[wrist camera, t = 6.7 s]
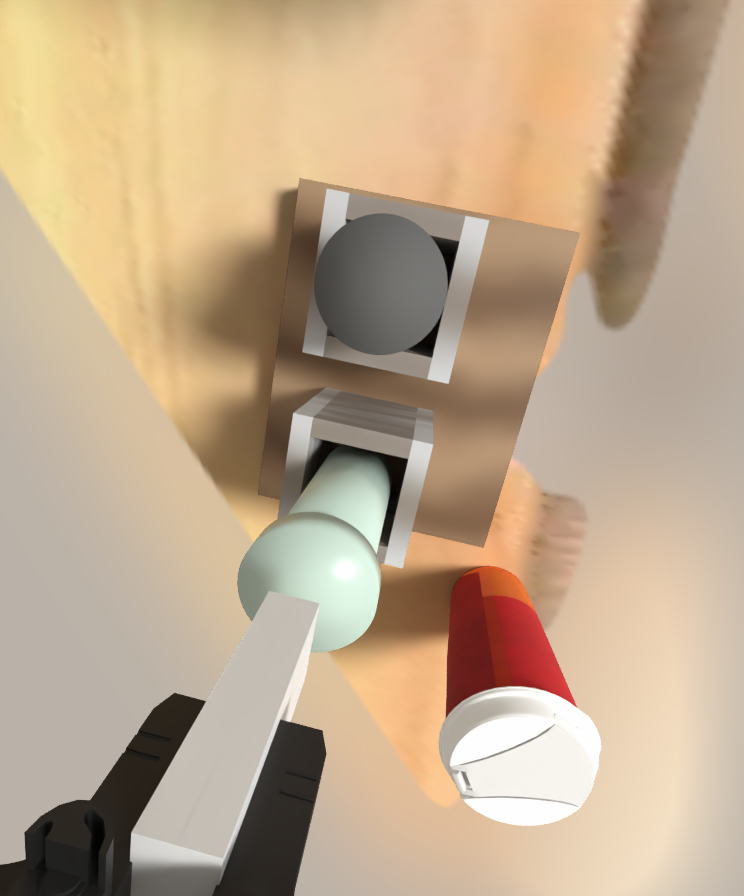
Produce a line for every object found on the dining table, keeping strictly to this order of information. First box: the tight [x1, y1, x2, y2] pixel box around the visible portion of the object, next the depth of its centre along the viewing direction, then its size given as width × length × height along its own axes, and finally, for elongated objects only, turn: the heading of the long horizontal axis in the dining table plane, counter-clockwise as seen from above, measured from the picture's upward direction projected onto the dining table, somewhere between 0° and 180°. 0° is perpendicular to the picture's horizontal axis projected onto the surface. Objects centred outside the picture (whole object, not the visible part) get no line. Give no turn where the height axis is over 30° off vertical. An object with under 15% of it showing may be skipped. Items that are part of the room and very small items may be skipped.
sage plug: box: [237, 444, 393, 652], centre depth 21 cm, size 5×5×11 cm
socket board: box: [258, 178, 580, 568], centre depth 27 cm, size 20×16×10 cm
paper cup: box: [439, 567, 601, 826], centre depth 29 cm, size 8×8×14 cm
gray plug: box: [314, 213, 448, 355], centre depth 22 cm, size 5×5×11 cm
